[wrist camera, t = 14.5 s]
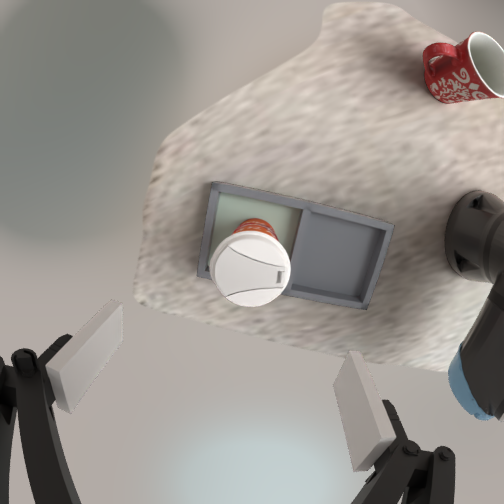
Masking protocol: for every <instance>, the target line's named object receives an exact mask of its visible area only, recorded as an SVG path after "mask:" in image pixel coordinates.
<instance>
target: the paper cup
mask: <svg viewBox="0 0 504 504" xmlns="http://www.w3.org/2000/svg"><path fill="white" fill-rule="evenodd" d="M290 271H291V267H290V260H289V257H288V254H287V252H286V250H285V249H284V247H283V246H282V245H281V244H280V243H279V240H278V238H277V235H276V233H275V231H274V229H273V228H272V226H271V225H270V224H269V223H268V222H266V221H265V220H262V219H258V218H252V219H248V220H246V221H244V222H243V223H241V224H240V225H239V226H238V227H237V228H236V230H235V231H234V232H233V233H232V235H231V236H229V237H227V238H226V239H225V240H223V241H222V242H221V243H220V244H219V246H218V247H217V249H216V250H215V252H214V254H213V256H212V258H211V260H210V275H211V278H212V280H213V282H214V283H215V285H216V287H217V288H218V290H219V291H220V292H221V293H222V294H223V295H224V296H225V298H227V299H228V300H229V301H231V302H233V303H235V304H237V305H240V306H245V307H257V306H261V305H264V304H267V303H269V302H271V301H272V300H274V299H275V298H276V297H277V296H279V295H280V294H281V293H282V291H283V290H284V289H285V287H286V286H287V283H288V281H289V278H290Z"/></svg>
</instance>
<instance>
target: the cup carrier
mask: <svg viewBox="0 0 504 504" xmlns="http://www.w3.org/2000/svg"><path fill="white" fill-rule="evenodd" d="M252 218H258V219H262V220H265V221H266V222H268V223H269V224H270V225H271V226H272V228H273V229H274V231H275V233H276V235H277V238H278V240H279V243H280V244H281V245H282V246H283V247H284V249H285V250H286V252H287V254H288V257H289V260H290V267H291V271H290V278H289V281H288V283H287V286H286V287H285V289H284V290H283V291H282V293H281V294H282V295H287V296H292V297H297V298H302V299H308V300H313V301H318V302H324V303H329V304H334V305H340V306H346V307H351V308H357V309H363V310H367V308H368V305H369V302H370V300H371V297H372V294H373V291H374V289H375V286H376V283H377V280H378V277H379V274H380V271H381V268H382V265H383V262H384V259H385V256H386V253H387V250H388V247H389V243H390V240H391V236H392V233H393V230H394V226H395V225H393V224H391V223H389V222H387V221H384V220H380V219H377V218H373V217H370V216H366V215H362V214H359V213H355V212H351V211H347V210H343V209H340V208H336V207H332V206H328V205H324V204H320V203H316V202H312V201H307V200H303V199H299V198H295V197H290V196H286V195H281V194H277V193H272V192H268V191H263V190H259V189H254V188H249V187H244V186H239V185H234V184H229V183H224V182H218V181H215V182H212V187H211V192H210V198H209V203H208V209H207V214H206V220H205V226H204V232H203V238H202V244H201V250H200V257H199V263H198V270H197V277H202V278H206V279H211V280H212V278H211V275H210V260H211V258H212V256H213V254H214V252H215V250H216V249H217V247H218V246H219V244H220V243H221V242H222V241H223V240H225V239H226V238H227V237H229V236H231V235H232V233H233V232H234V231H235V230H236V228H237V227H238V226H239V225H240V224H241V223H243V222H244V221H246V220H248V219H252Z"/></svg>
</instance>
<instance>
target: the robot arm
mask: <svg viewBox="0 0 504 504" xmlns="http://www.w3.org/2000/svg"><path fill="white" fill-rule="evenodd" d="M445 250H446V255H447V259H448V261H449V263H450V265H451V267H452V268H453V270H454V271H455V272H456V273H458V274H459V275H461V276H462V277H464V278H465V279H468V280H471V281H478V282H488V283H492V284H494V285H493V287H492V289H491V291H490V293H489V295H488V297H487V299H486V301H485V303H484V305H483V307H482V309H481V311H480V313H479V315H478V317H477V319H476V321H475V322H474V324H473V326H472V328H471V329H470V331H469V333H468V334H467V336H466V338H465V339H464V341H463V342H462V343H461V344H460V346H459V349H458V352H457V353H456V355H455V357H454V358H453V360H452V362H451V364H450V366H449V370H448V376H449V383H450V387H451V389H452V392H453V394H454V395H455V397H456V398H457V400H458V402H459V403H460V404H461V406H462V407H463V408H464V409H465V410H466V411H467V412H468V413H469V414H471V415H473V414H474V416H475V417H476V418H477V419H479V420H489V419H491V418H493V417H496V418H497V419H498V420H499V421H500V422H504V202H503V201H502V200H501V199H500V198H498V197H497V196H496V195H494V194H492V193H488V192H483V191H474V192H471V193H469V194H467V195H465V196H464V197H463V198H462V199H461V200H460V201H459V202H458V203H457V205H456V206H455V207H454V209H453V211H452V213H451V215H450V218H449V220H448V224H447V228H446V234H445ZM122 308H123V303H121V302H118V301H115V300H110V301H109V302H108V303H107V304H106V305H105V306H104V307H103V308H102V309H101V310H100V311H99V312H98V313H96V314H95V315H94V317H92V318H91V319H90V320H89V321H88V322H87V323H86V324H85V325H84V326H83V327H82V328H81V329H80V330H79V331H78V332H77V333H76V334H75V335H74V336H71V335H69V334H66V335H63V336H61V337H59V338H58V339H57V340H56V341H55V342H54V343H53V344H52V345H51V346H50V347H49V349H47V350H46V351H45V352H44V353H43V354H42V355H41V356H40V357H39V358H38V359H37V356H36V353H35V352H34V351H33V350H30V349H25V348H23V349H19V350H17V351H15V352H14V353H13V354H12V357H11V361H12V364H13V367H12V366H8V365H5V363H4V361H3V358H2V357H0V504H9V471H10V458H11V447H12V439H13V431H14V424H15V419H16V412H17V410H18V420H19V428H20V436H21V442H22V448H23V454H24V459H25V464H26V469H27V473H28V478H29V482H30V486H31V490H32V493H33V497H34V500H35V504H81V502H80V499H79V497H78V494H77V491H76V489H75V486H74V483H73V481H72V478H71V475H70V472H69V469H68V466H67V463H66V459H65V456H64V452H63V449H62V446H61V442H60V438H59V434H58V430H57V426H56V421H55V417H54V412H53V408H52V404H53V402H54V401H55V400H56V403H57V406H58V408H60V409H62V410H64V411H66V412H68V413H70V414H71V413H72V412H73V410H74V409H75V407H76V406H77V405H78V403H79V402H80V400H81V399H82V397H83V396H84V394H85V393H86V392H87V390H88V389H89V387H90V386H91V385H92V383H93V382H94V380H95V379H96V378H97V376H98V375H99V373H100V372H101V371H102V369H103V368H104V366H105V365H106V364H107V362H108V361H109V360H110V358H111V357H112V356H113V354H114V353H115V351H116V350H117V349H118V347H119V346H120V345H121V343H122V342H123V324H122V323H123V314H122V312H123V309H122ZM333 387H334V391H335V395H336V399H337V403H338V407H339V411H340V415H341V419H342V423H343V427H344V432H345V436H346V440H347V445H348V449H349V454H350V458H351V463H352V467H353V471H354V472H358V471H368V470H369V469H370V468H371V467H372V466H373V464H374V467H375V471H374V472H373V473H372V474H371V476H369V478H368V479H367V480H366V481H365V482H366V484H365V485H364V486H363V488H362V489H361V491H360V492H359V494H358V495H357V496H356V498H355V499H354V500H353V502H352V503H351V504H397V503H398V501H399V500H400V498H401V496H402V494H403V498H402V502H401V504H454V492H455V454H454V453H453V451H452V450H451V449H450V448H448V447H445V446H440V447H438V448H437V449H436V450H435V451H434V452H429V451H423V450H421V449H420V447H419V446H418V445H417V444H416V443H415V442H413V441H411V440H408V438H407V435H406V433H405V431H404V428H403V426H402V424H401V421H399V417H398V415H397V412H396V410H395V407H394V406H393V405H392V404H391V403H390V402H389V400H381V397H380V395H379V393H378V390H377V388H376V385H375V383H374V381H373V378H372V376H371V374H370V372H369V369H368V367H367V365H366V362H365V360H364V358H363V356H362V353H361V352H359V351H351V350H349V352H348V354H347V356H346V358H345V361H344V363H343V365H342V367H341V370H340V372H339V374H338V376H337V378H336V380H335V382H334V384H333ZM403 492H404V493H403Z"/></svg>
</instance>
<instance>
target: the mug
mask: <svg viewBox="0 0 504 504" xmlns="http://www.w3.org/2000/svg"><path fill="white" fill-rule="evenodd" d="M436 56H440V57H438V58H437V59H435V60H433V61H432V62H431V63H429V60H430V59H431V58H433V57H436ZM423 63H424V67H425V72H424V77H425V82H426V85H427V87H428V89H429V91H430V92H431V93H432V95H433V96H434V97H435V98H436V99H438V100H439V101H441V102H443V103H447V104H450V103H458V102H464V101H472V100H480V99H491V98H504V50H503V49H502V48H501V46H500V45H499V44H498V43H497V42H496V41H495V40H494V39H493V38H492V37H490V36H489V35H487V34H485V33H482V32H473V33H471V34H470V36H469V37H468V38H467V39H465V40H464V41H462V42H460V43H459V44H457V45H456V46H455V47H454V46H453V45H450V44H447V43H434V44H431V45H429V46H428V47H426V48H425V50H424V52H423Z"/></svg>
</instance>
